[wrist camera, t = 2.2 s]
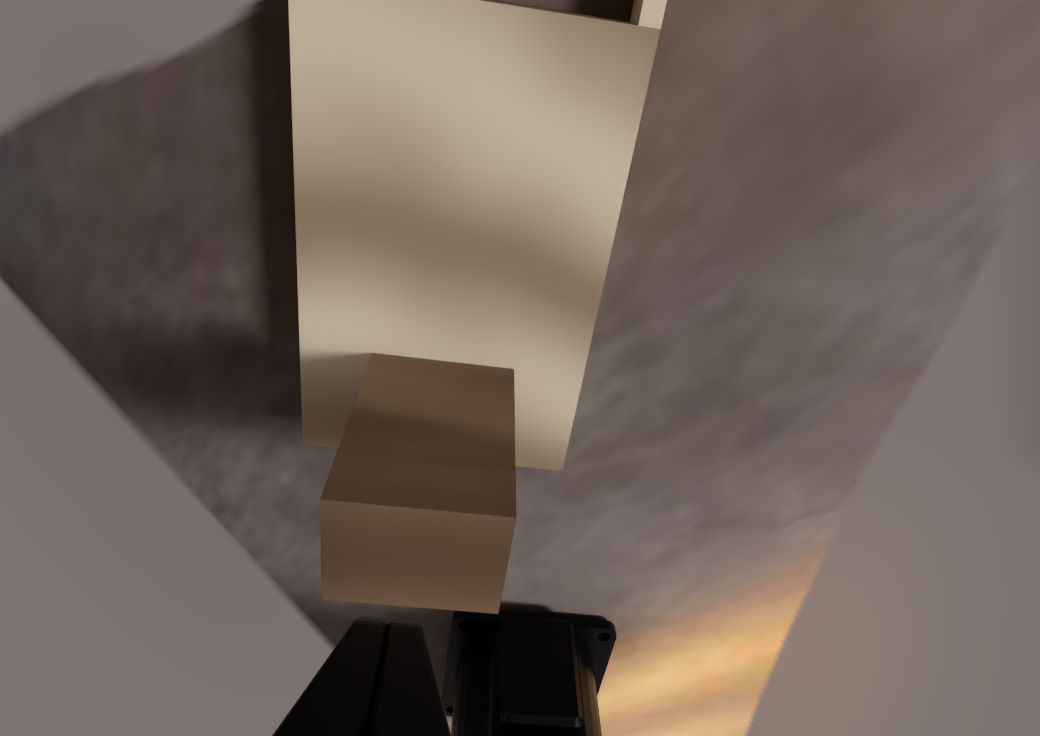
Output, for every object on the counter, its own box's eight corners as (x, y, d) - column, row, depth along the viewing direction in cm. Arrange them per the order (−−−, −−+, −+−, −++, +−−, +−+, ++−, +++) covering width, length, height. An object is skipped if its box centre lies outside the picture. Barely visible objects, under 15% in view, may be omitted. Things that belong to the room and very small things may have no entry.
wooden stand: (559, 447, 22) (579, 634, 16) (312, 421, 21) (232, 607, 15) (771, -534, 11) (1088, -1143, 5) (288, -647, 11) (-21, -1513, 4)
